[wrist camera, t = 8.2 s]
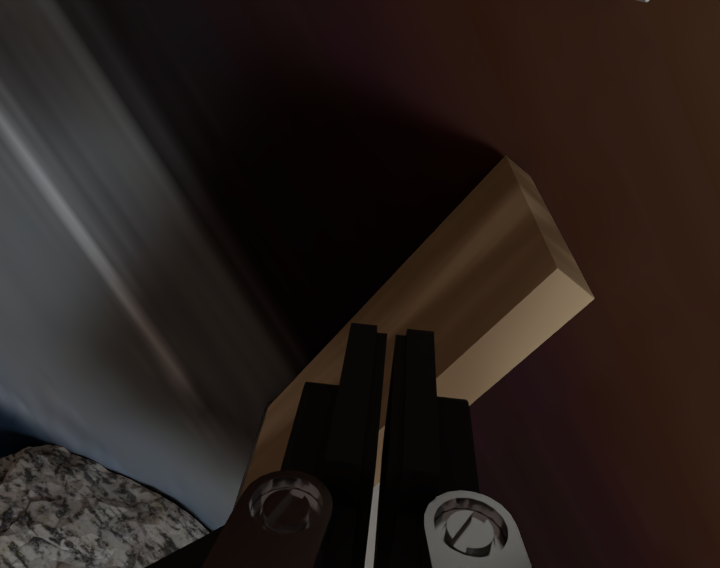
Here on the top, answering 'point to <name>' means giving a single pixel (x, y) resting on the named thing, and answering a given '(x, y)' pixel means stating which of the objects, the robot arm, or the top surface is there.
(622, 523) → the top surface
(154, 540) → the rock
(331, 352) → the door
